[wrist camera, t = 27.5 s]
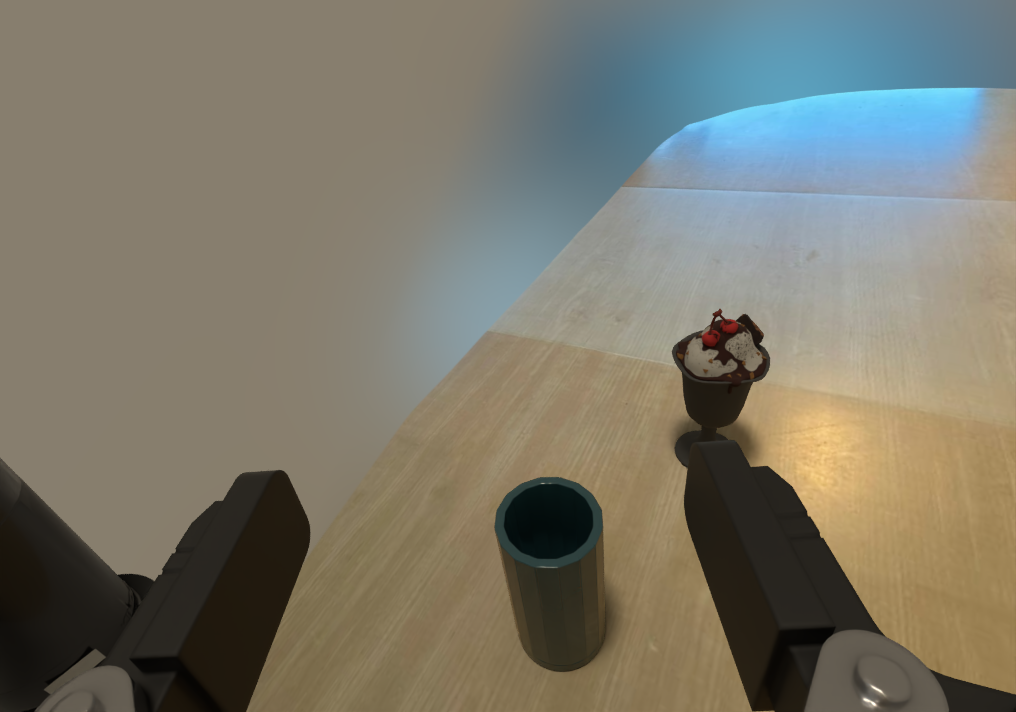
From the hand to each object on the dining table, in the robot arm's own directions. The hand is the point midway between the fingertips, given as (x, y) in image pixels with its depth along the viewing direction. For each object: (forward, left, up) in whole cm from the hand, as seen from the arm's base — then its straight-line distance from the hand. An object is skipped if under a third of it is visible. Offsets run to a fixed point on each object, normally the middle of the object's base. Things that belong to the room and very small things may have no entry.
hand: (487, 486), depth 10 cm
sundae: (+24, +13, -26) cm, 38 cm away
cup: (+6, +8, -26) cm, 28 cm away
